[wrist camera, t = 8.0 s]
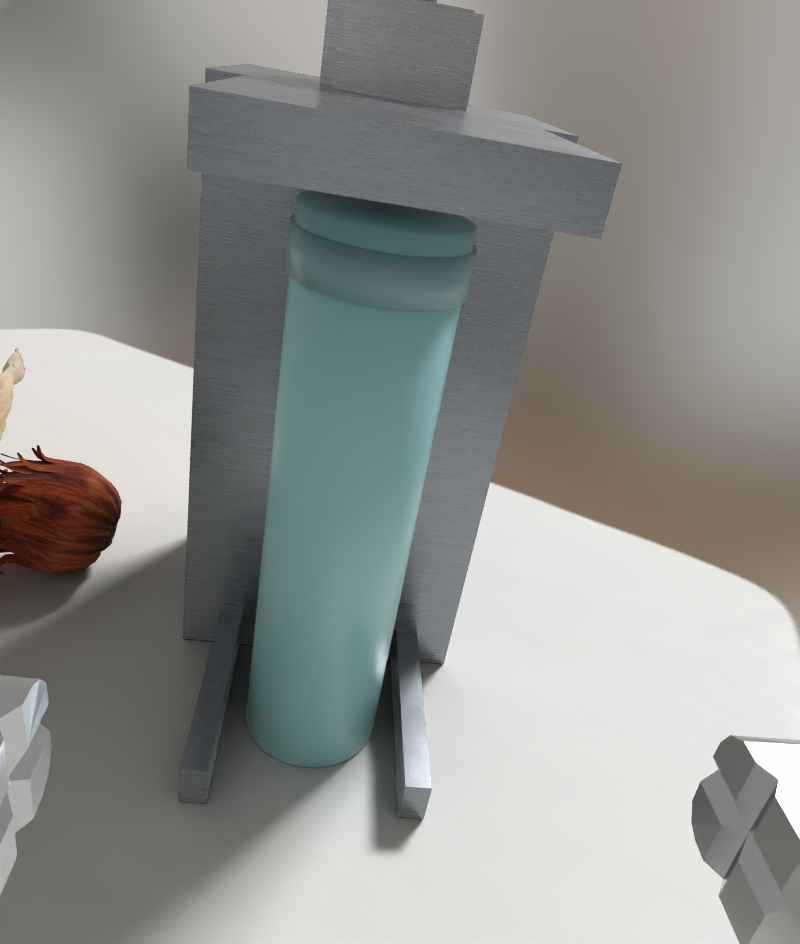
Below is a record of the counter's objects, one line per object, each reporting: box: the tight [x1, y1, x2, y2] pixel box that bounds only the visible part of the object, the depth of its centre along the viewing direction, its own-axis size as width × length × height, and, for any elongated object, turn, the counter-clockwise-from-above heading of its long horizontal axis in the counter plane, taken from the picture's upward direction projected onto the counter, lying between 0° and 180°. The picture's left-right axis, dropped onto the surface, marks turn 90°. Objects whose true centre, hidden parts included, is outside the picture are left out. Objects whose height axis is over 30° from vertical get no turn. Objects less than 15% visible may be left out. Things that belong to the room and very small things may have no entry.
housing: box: [179, 0, 622, 819], centre depth 24 cm, size 10×15×22 cm, turn 3°
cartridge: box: [246, 191, 477, 768], centre depth 22 cm, size 5×5×17 cm
